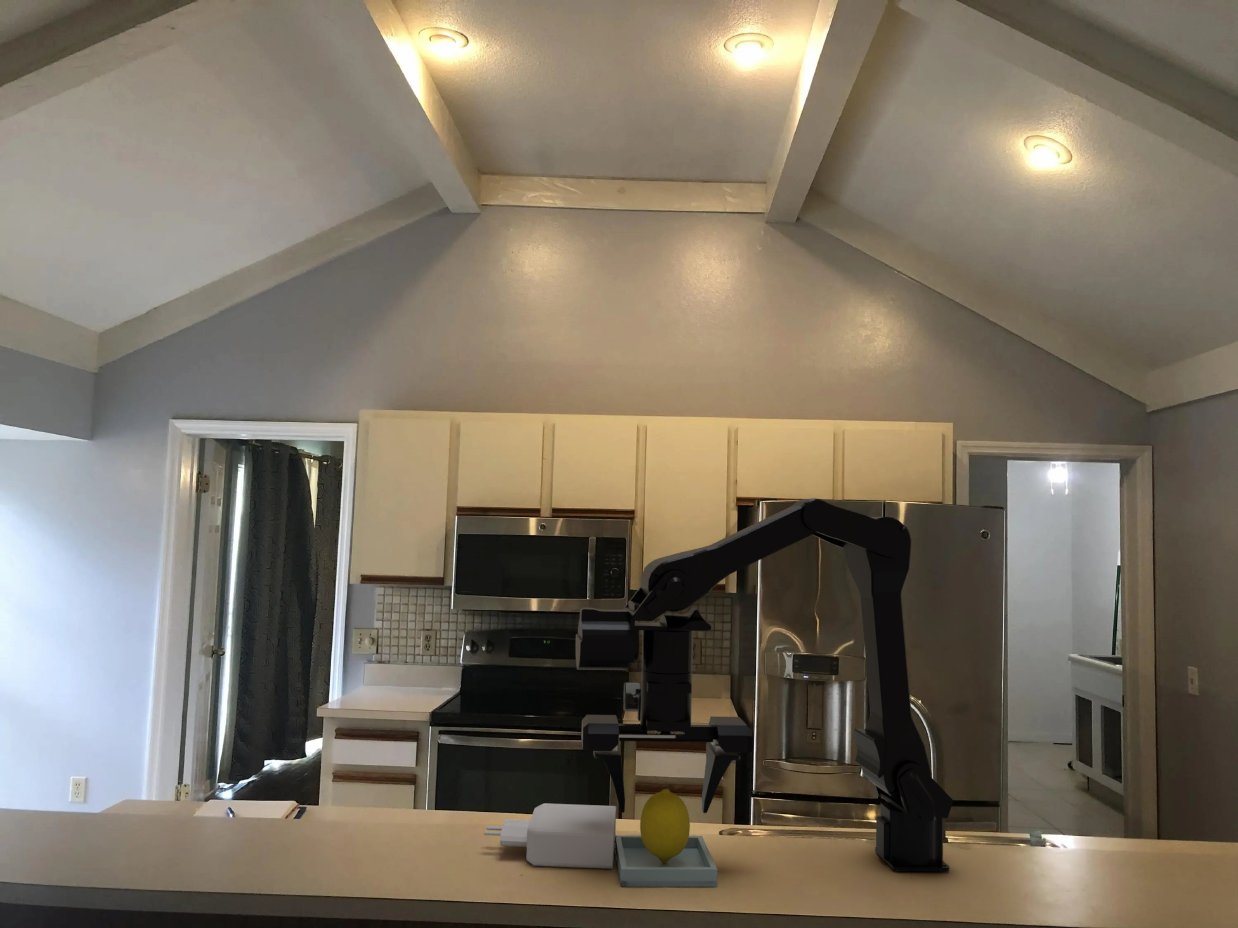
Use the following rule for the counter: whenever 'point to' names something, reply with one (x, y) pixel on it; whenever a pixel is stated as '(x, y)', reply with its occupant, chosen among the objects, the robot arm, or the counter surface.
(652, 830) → the lemon
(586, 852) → the charger
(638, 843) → the tray
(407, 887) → the counter surface
